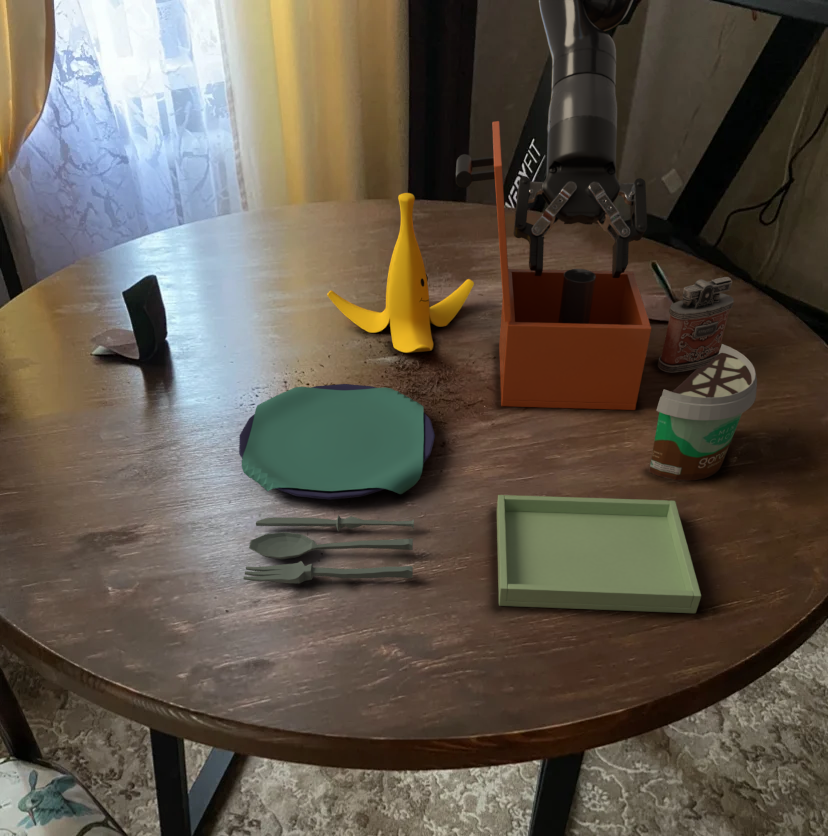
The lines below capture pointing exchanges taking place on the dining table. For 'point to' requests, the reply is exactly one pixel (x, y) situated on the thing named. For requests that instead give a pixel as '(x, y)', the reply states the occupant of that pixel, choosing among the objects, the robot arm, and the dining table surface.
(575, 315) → the black cylinder
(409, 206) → the banana peel
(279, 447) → the cutlery set
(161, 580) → the dining table surface
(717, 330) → the lighter
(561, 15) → the robot arm
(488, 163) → the box lid
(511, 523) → the tray
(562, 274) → the orange open box
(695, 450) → the food container
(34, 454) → the dining table surface
